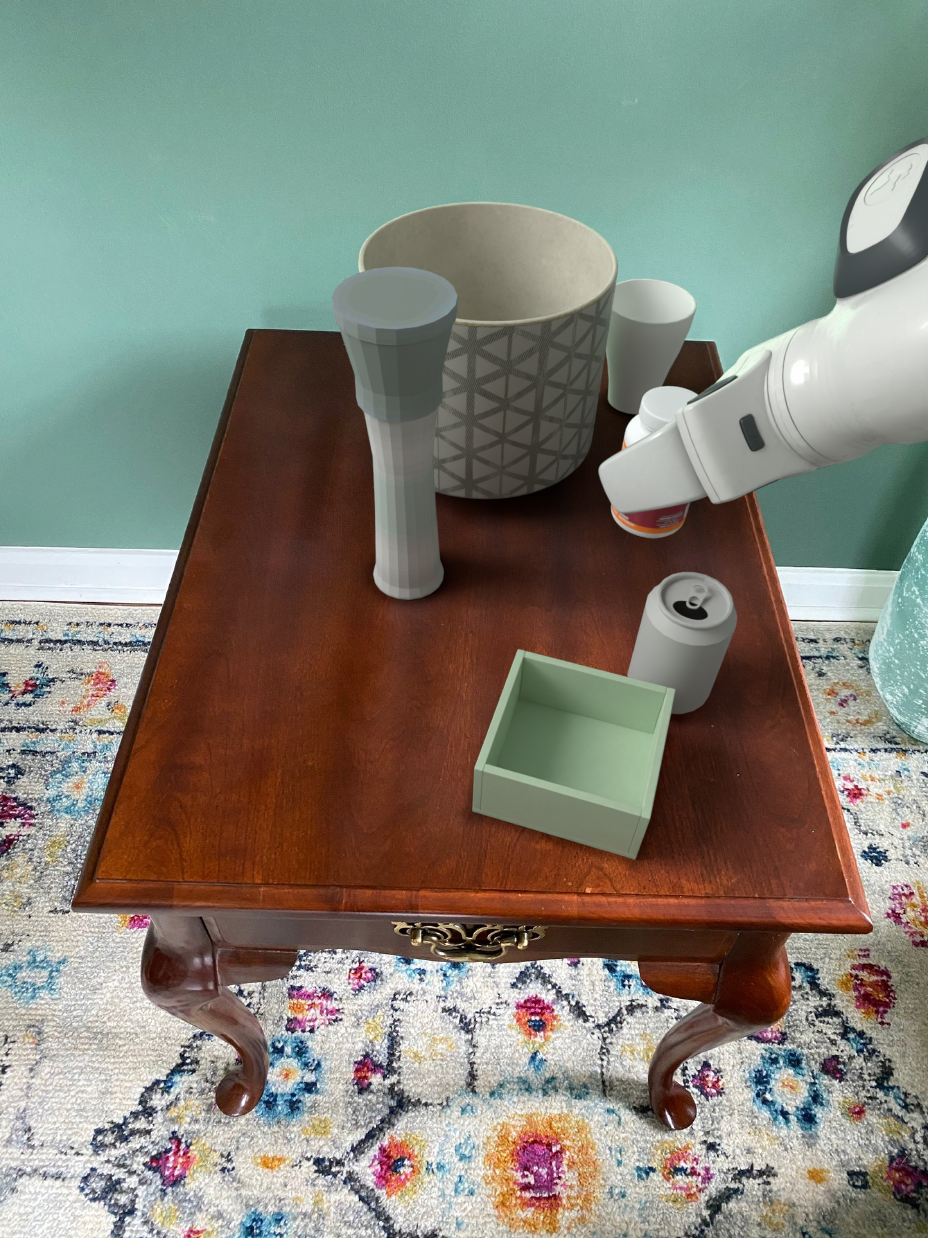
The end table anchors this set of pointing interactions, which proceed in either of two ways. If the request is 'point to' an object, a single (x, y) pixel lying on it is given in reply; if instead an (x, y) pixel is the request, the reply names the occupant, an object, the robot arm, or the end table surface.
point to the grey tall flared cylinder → (400, 410)
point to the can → (684, 637)
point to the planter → (510, 339)
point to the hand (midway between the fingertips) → (654, 453)
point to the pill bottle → (651, 417)
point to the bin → (574, 753)
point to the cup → (644, 338)
